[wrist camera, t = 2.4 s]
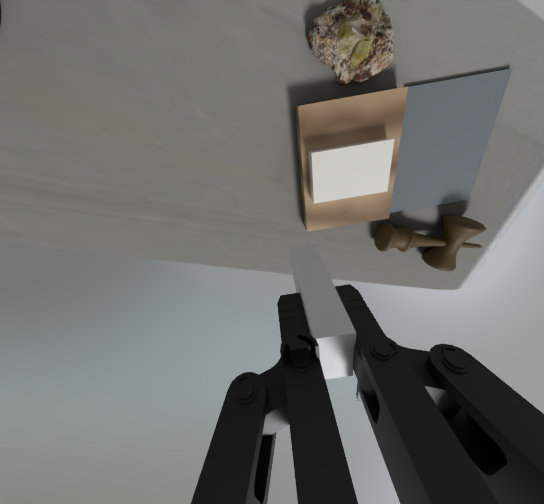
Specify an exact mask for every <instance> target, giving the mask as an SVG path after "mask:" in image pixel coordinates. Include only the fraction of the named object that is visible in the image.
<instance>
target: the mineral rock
mask: <svg viewBox="0 0 544 504" xmlns="http://www.w3.org/2000/svg"><path fill="white" fill-rule="evenodd" d="M383 7H384V5H383V4H382V3H381V2H379V3H376V0H352V1H349V0H346V1H343V2H341V3H340V4H339V5H337V6H335V5H333V4H332V5H331V6H329V7H328V8H327V9H325V10H324V12H323V14H322V15H321V16H319V17H316V18H315V19H314V20H313V25H312V26H311V27H310V33H309V34H308V35H307V39H308V42H309V43H311V52H312V53H313V54H314V55H315V57H316V58H317V60H319V61H321V62H323V64H325V65H329V66H330V67H332V68H333V70H334V73H336V75H337V77H336V80H337V81H338V82H339V84H341V83H342V84H344V83H345V85H346V84H348V83H350V82H354V81H356V82H364V81H366V80H368V79H369V78H370V77H372V76H373V75H375V74H377V73H379V72H380V71H382V70H383V69H384V68H386V67H387V66H388V65H389V64H390V63H391V62H392V59H393V50H392V49H393V48H394V45H393V43H392V41H393V33H394V32H393V29H392V26H391V23H390V17H389V16H388V15H386V14H385V13H383V12H382V9H383Z"/></svg>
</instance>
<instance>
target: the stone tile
mask: <svg viewBox="0 0 544 504" xmlns="http://www.w3.org/2000/svg"><path fill="white" fill-rule="evenodd" d="M393 146H394V139H391V138H383V139H378V140H372V141H366V142H360V143H354V144H348V145H343V146H337V147H331V148H325V149H319V150H314V151H308V153H309V171H310V189H311V200H312V202H313V203H314V204H315V203H321V202H327V201H333V200H339V199H345V198H351V197H357V196H363V195H369V194H375V193H381V192H387V191H388V184H389V176H390V168H391V161H392V153H393Z"/></svg>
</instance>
